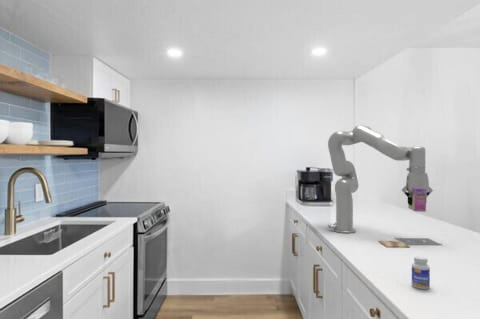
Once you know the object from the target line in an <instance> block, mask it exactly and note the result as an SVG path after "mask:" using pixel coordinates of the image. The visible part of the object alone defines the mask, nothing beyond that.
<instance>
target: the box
mask: <svg viewBox="0 0 480 319" xmlns="http://www.w3.org/2000/svg"><path fill="white" fill-rule="evenodd" d="M411 197H412V205H409V204H408V203H407V204H408V206H407V207H408V209H409V210H411V211H413V212H419V213H420V212H427V198H426V189H425V188H413V192H412V196H411Z"/></svg>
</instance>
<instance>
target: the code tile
mask: <svg viewBox="0 0 480 319" xmlns="http://www.w3.org/2000/svg"><path fill="white" fill-rule="evenodd" d="M393 239H395V241H401V242H403V243H404V244H406V245H408V246H443V244H442V243H439V242H437V241H435V240H433V239H430V238H429V237H427V238H423V237H422V238H419V237H411V238H410V237H394V238H393Z"/></svg>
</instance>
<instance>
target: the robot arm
mask: <svg viewBox="0 0 480 319" xmlns="http://www.w3.org/2000/svg"><path fill="white" fill-rule="evenodd" d="M359 143H364V144H366V145H368V146H370V147H371V148H372V149H374V150H376V151H377V152H379V153H380V154H383V155H384V156H386V157H388V158H390V159H392V160H394V161H398V162H399V161H401V162H403V161H404V162H405V161H408V167H407V168H406V172H407V175H406V181H405V182H406V183H405V186H403V188H401V192H402V193H403V194H404V195H405V196H406V197H407V204H409V205H412V197H411V196H412V192H413V188H425V189H426V199H427V198H428V196H430V194H432V192H434V191H433V189H432V188H431V187H430V182H429V176H428V173H427V172H426V148H425V147H424V146H411V147H407V146H402V145H401V146H400V145H397V144H396V143H395V142H394V143H393V142H392V141H390V140H388V139H386V137H385V136H384V135H383V134H381V133H380V132H377V131H375V130H373V129H372V128H371V127H369V126H367V125H363V124H362V125H361V124H360V125H356V126H354V127H353V129H352V130H349V131H345V130H337V131H335V132H333V133H332V134H331V135H330V136H329V138H328V142H327V148H328V152H329V157H330V162H331V165H332V170H333V173H334V175H335V176H337V177H341V178H339V179H338V180H337V181H336V182H335V184H334V192H335V202H336V203H335V204H336V205H335V206H336V207H335V213H336V214H335V215H336V216H335V217H336V218H335V222H334V223H333V224H331V223H328V225H327V227H328V228H331V229H333V232H336V233H340V234H341V233H342V234H353V233H355V232H356V229H355V228H354V220H353V219H354V212H353V211H354V207H353V206H354V202H353V200H354V199H353V195H352V194H354V193H355V192H357V191H358V189H359V180H358V176H357V172H356V168H355V165H354V164H353V163H352V162H351V161H349V160H347V158H346V154H345V151H344V149H343V146H353V145H355V144H359Z"/></svg>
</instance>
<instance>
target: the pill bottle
mask: <svg viewBox="0 0 480 319" xmlns="http://www.w3.org/2000/svg"><path fill="white" fill-rule="evenodd" d="M413 261H414V262H412V263H411V286H412V287H414V288H416V289H420V290H427V289H430V285H431V284H430V282H431V280H430V279H431V277H430V276H431V275H430V274H431V271H430V270H431V269H430V268H431V267H430V265H429V264H428V257H425V256H421V255H420V256H419V255H415V256H414V257H413Z"/></svg>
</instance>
